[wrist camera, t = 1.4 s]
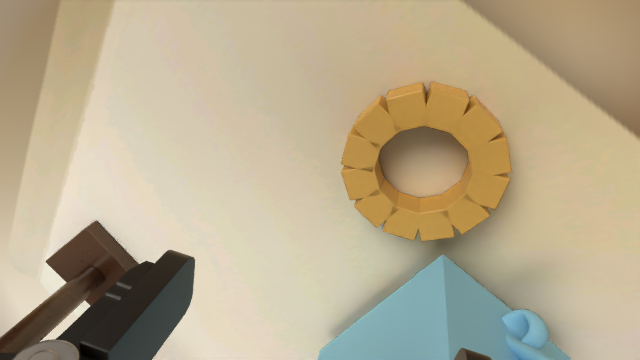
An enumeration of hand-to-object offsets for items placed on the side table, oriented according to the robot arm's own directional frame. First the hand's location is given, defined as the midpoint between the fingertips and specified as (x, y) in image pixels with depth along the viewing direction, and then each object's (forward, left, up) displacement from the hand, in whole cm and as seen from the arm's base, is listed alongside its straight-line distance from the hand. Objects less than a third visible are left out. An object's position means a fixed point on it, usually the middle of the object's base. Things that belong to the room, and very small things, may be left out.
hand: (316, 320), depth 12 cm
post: (-4, -27, -15) cm, 31 cm away
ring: (+2, +2, -15) cm, 15 cm away
